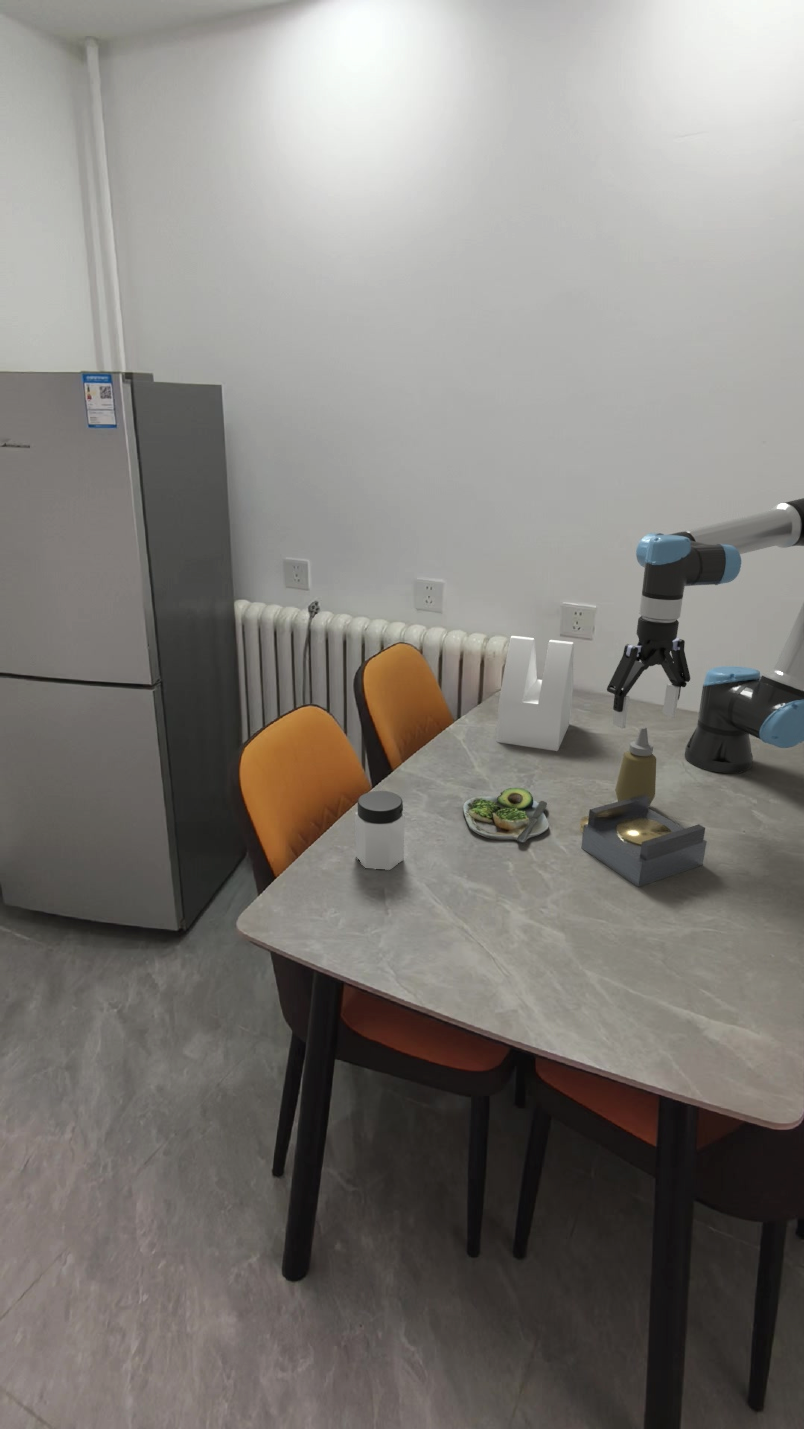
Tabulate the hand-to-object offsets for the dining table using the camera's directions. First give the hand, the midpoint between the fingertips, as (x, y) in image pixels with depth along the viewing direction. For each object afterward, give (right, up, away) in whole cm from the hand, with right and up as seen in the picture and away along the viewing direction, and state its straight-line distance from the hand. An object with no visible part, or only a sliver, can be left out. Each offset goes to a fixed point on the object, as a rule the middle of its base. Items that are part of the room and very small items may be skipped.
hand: (644, 720), depth 160 cm
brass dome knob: (-11, -22, -2) cm, 25 cm away
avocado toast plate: (-28, -21, +2) cm, 35 cm away
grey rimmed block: (-4, -25, -11) cm, 28 cm away
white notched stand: (-15, -4, +45) cm, 48 cm away
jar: (-53, -26, -14) cm, 60 cm away
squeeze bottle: (0, -19, +7) cm, 20 cm away
